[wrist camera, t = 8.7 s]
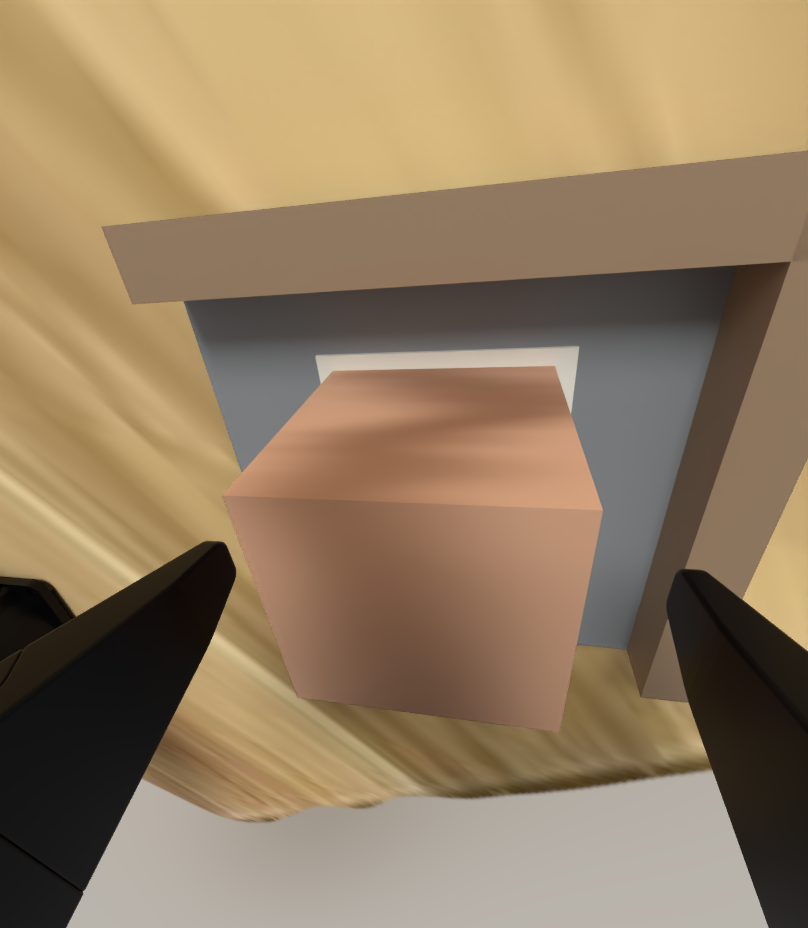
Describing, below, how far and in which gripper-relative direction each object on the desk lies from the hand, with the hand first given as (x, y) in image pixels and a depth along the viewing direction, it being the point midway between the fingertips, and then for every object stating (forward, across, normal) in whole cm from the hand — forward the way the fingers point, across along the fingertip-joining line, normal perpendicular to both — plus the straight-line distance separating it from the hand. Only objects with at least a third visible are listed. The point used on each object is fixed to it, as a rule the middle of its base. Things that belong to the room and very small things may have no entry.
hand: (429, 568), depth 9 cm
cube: (+4, 0, 0) cm, 4 cm away
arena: (+5, 0, +1) cm, 5 cm away
